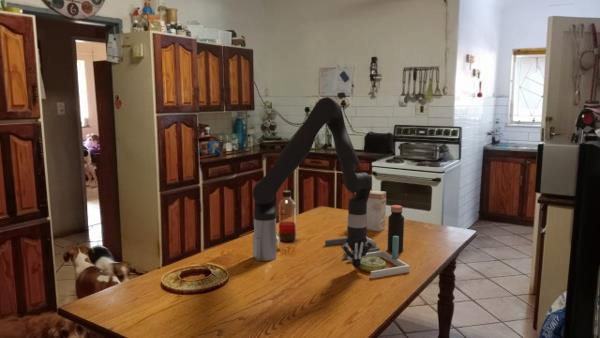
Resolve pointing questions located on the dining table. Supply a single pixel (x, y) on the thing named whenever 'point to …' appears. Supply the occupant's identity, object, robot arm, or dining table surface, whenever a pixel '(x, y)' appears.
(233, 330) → the dining table surface
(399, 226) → the vinegar
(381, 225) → the coffeecake box
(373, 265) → the decorated donut
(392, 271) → the white u-shaped bracket
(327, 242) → the grey u-shaped handle
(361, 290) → the dining table surface
